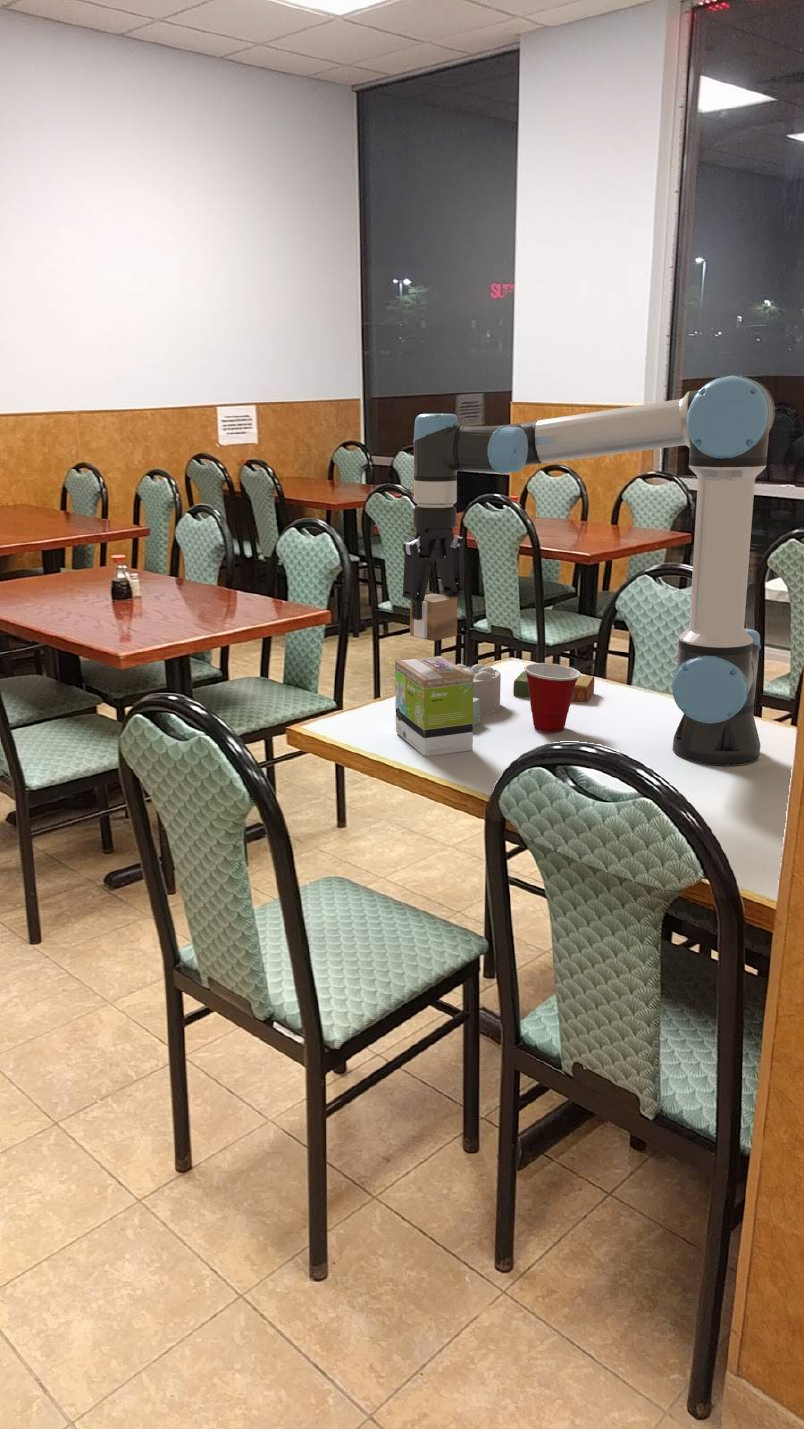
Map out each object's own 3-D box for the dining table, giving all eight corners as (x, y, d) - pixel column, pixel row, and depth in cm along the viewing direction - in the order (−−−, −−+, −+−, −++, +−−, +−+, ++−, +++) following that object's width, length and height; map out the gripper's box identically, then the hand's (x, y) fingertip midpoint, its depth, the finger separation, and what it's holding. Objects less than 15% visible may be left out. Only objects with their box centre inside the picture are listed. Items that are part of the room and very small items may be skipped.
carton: (587, 705, 227) (588, 685, 225) (512, 698, 232) (512, 679, 231) (593, 694, 234) (594, 675, 233) (521, 688, 239) (521, 669, 238)
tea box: (393, 734, 207) (393, 658, 202) (442, 728, 210) (442, 654, 206) (423, 758, 193) (423, 677, 189) (474, 751, 197) (475, 672, 192)
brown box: (456, 636, 196) (457, 597, 194) (433, 641, 192) (434, 602, 190) (433, 630, 200) (433, 593, 198) (410, 635, 196) (410, 597, 194)
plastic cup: (577, 738, 203) (579, 677, 200) (519, 735, 206) (521, 674, 202) (579, 722, 214) (582, 663, 210) (524, 719, 216) (526, 660, 212)
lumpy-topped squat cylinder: (431, 707, 224) (431, 667, 221) (479, 697, 231) (479, 658, 229) (464, 719, 216) (464, 677, 213) (512, 708, 223) (513, 667, 221)
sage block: (479, 723, 213) (479, 698, 212) (467, 729, 209) (467, 704, 208) (456, 719, 216) (457, 695, 215) (444, 725, 212) (445, 701, 210)
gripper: (456, 499, 198) (454, 623, 205) (380, 507, 186) (381, 638, 192) (487, 502, 193) (484, 629, 200) (411, 510, 181) (410, 645, 187)
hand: (433, 633), depth 196 cm, fingers closed on brown box, 6 cm apart
